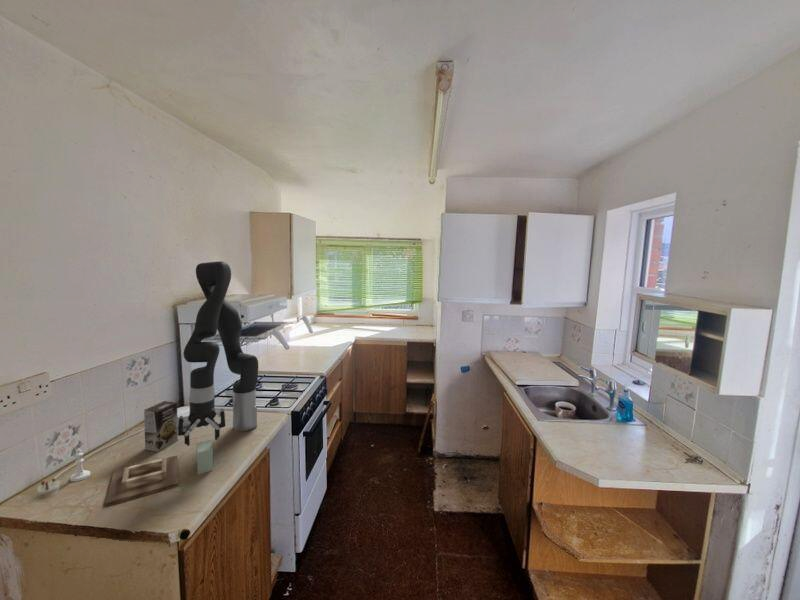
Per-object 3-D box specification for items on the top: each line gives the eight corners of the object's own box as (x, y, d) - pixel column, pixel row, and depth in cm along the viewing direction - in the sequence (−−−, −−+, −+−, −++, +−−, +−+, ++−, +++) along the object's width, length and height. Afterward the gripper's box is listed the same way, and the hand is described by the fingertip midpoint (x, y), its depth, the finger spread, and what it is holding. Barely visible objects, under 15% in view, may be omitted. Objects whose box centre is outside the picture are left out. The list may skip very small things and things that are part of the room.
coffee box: (158, 452, 126) (157, 412, 125) (144, 449, 128) (142, 409, 126) (178, 440, 135) (177, 402, 133) (165, 437, 136) (164, 400, 135)
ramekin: (189, 429, 144) (188, 417, 144) (163, 427, 144) (163, 416, 144) (204, 417, 155) (204, 406, 155) (181, 415, 156) (180, 405, 155)
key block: (211, 460, 123) (210, 439, 122) (212, 470, 117) (212, 449, 117) (196, 463, 121) (196, 443, 120) (198, 474, 115) (197, 452, 114)
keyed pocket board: (177, 457, 124) (177, 448, 123) (178, 485, 109) (177, 475, 108) (114, 473, 113) (113, 463, 113) (105, 506, 99) (105, 495, 98)
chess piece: (79, 472, 113) (77, 444, 112) (94, 472, 114) (92, 444, 112) (65, 481, 108) (63, 452, 107) (82, 481, 109) (80, 452, 108)
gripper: (223, 390, 123) (223, 432, 125) (177, 397, 115) (178, 441, 117) (226, 398, 117) (226, 441, 119) (177, 405, 109) (178, 452, 111)
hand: (202, 441), depth 118 cm, fingers open, 8 cm apart
